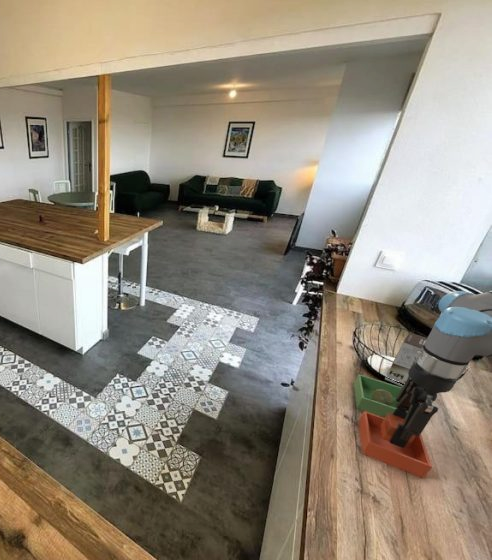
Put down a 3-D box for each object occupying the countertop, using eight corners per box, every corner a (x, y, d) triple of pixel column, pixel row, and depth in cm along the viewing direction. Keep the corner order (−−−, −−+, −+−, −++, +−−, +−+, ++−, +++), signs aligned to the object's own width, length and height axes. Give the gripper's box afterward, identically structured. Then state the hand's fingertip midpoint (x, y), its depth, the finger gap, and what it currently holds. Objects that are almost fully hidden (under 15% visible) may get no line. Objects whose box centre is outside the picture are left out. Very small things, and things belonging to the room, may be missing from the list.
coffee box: (408, 390, 103) (430, 351, 96) (384, 379, 108) (403, 342, 101) (413, 377, 109) (434, 340, 102) (390, 367, 113) (408, 331, 106)
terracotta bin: (412, 441, 86) (419, 430, 84) (423, 478, 77) (432, 467, 75) (358, 421, 92) (363, 410, 90) (362, 453, 83) (368, 442, 81)
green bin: (400, 399, 100) (406, 388, 98) (408, 426, 91) (415, 415, 89) (353, 384, 106) (358, 374, 104) (356, 408, 97) (361, 397, 95)
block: (403, 434, 83) (412, 421, 81) (407, 448, 80) (416, 435, 77) (380, 425, 86) (387, 412, 84) (382, 439, 82) (390, 426, 80)
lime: (392, 408, 96) (399, 397, 94) (376, 408, 96) (382, 396, 94) (381, 397, 100) (387, 386, 98) (366, 397, 100) (371, 385, 98)
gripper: (406, 343, 81) (372, 407, 91) (424, 386, 67) (381, 455, 78) (446, 353, 77) (405, 418, 88) (472, 401, 64) (421, 471, 74)
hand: (394, 436), depth 83 cm, fingers closed on block, 5 cm apart
